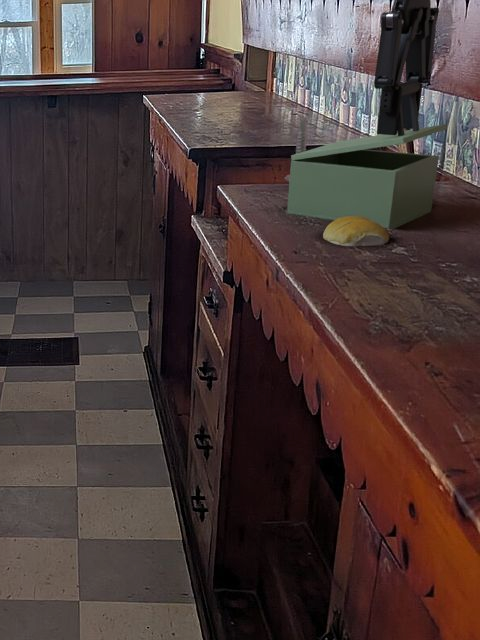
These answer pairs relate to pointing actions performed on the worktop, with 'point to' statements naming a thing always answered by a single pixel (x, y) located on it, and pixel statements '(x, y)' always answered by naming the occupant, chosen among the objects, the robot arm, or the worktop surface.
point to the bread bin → (364, 186)
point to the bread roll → (355, 232)
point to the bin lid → (380, 140)
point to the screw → (300, 140)
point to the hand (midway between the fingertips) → (397, 130)
